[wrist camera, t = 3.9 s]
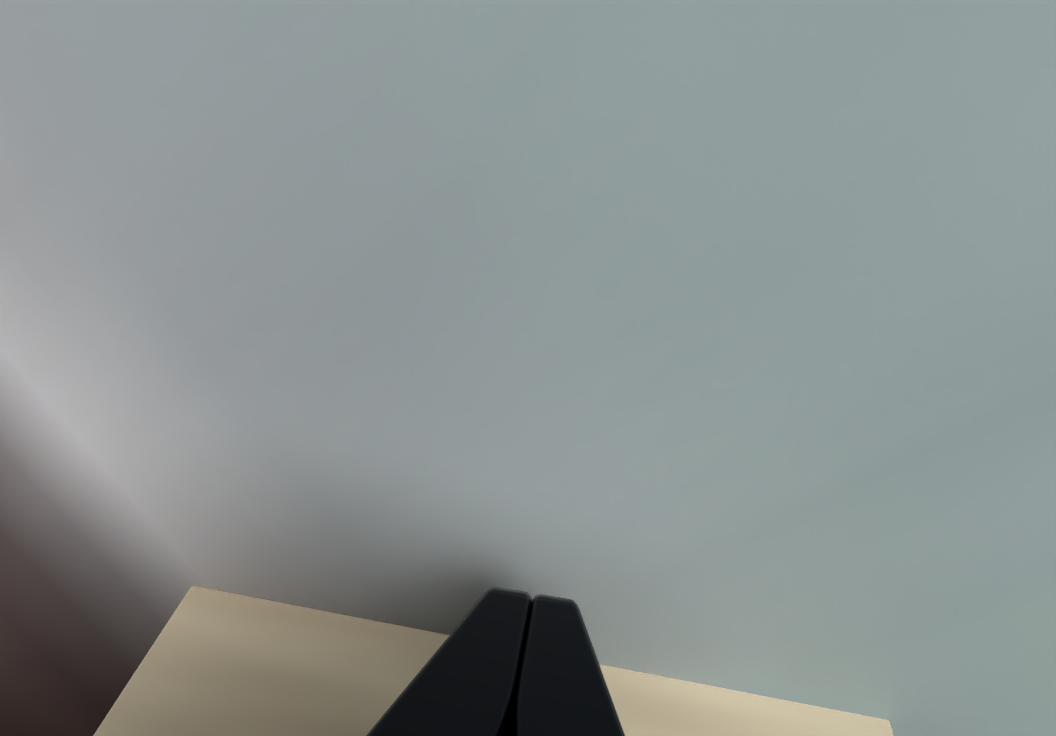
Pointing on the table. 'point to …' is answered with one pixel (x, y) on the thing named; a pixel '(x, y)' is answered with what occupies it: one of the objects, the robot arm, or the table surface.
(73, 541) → the table surface
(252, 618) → the birch block
